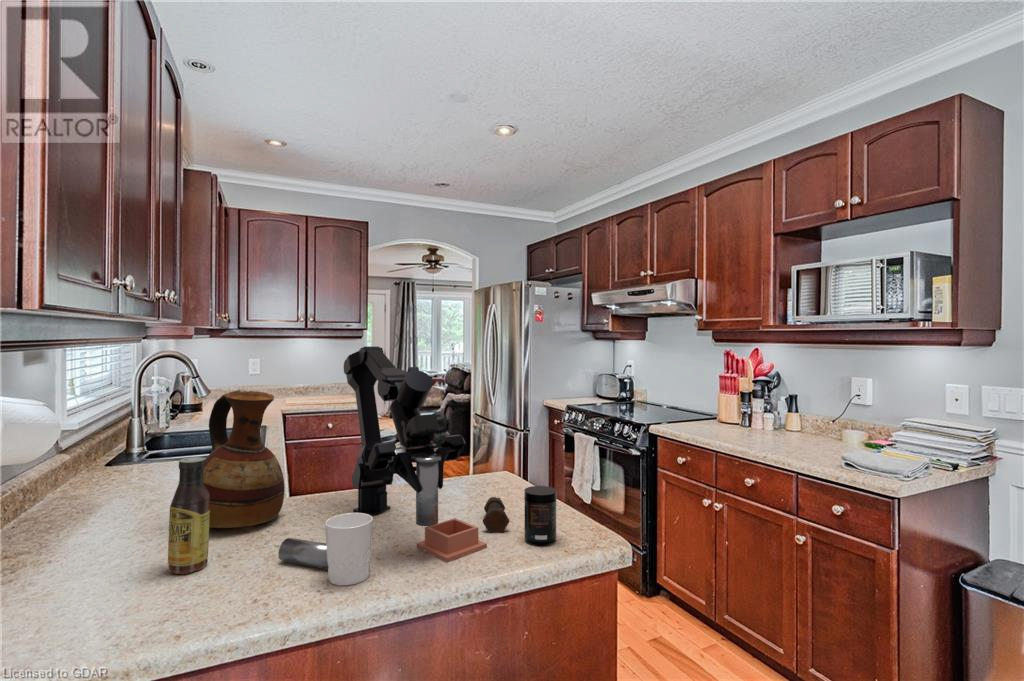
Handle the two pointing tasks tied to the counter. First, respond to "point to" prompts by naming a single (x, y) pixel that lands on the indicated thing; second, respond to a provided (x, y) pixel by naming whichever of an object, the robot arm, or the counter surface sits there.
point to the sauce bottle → (189, 519)
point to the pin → (304, 552)
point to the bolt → (495, 516)
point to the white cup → (348, 547)
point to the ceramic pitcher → (241, 464)
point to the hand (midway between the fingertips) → (430, 489)
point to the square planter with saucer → (451, 540)
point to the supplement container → (540, 515)
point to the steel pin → (427, 488)
